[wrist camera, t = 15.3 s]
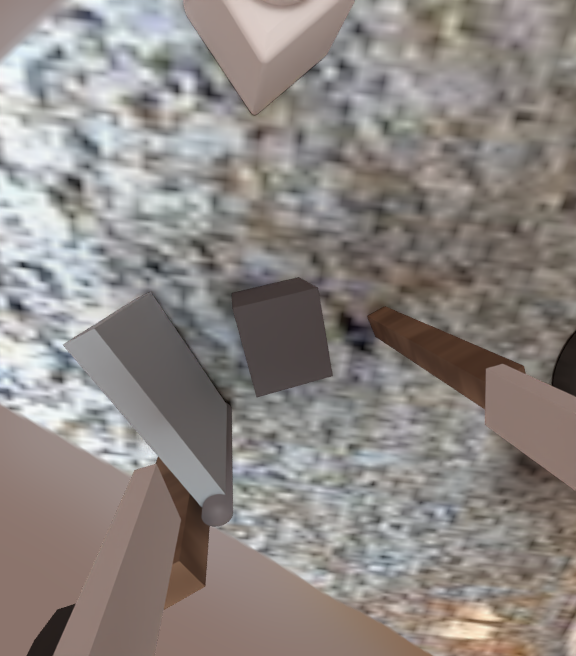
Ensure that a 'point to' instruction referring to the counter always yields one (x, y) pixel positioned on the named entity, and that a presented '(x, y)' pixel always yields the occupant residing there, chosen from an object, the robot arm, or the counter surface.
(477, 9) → the counter surface
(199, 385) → the door
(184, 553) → the doorframe
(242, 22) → the medicine bottle
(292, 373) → the dark grey block
